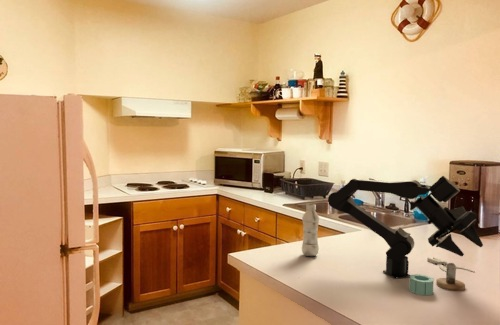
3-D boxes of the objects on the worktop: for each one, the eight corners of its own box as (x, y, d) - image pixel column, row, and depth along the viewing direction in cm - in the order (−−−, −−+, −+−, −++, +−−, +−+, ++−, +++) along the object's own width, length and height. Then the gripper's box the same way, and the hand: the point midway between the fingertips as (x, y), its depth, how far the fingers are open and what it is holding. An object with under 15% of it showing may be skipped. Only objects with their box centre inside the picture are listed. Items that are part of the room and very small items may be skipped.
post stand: (450, 291, 118) (451, 268, 117) (430, 282, 126) (431, 260, 125) (471, 289, 120) (472, 265, 120) (450, 279, 128) (451, 258, 127)
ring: (419, 296, 114) (420, 282, 114) (405, 288, 121) (405, 275, 120) (437, 293, 116) (438, 280, 116) (422, 286, 122) (422, 273, 122)
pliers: (453, 271, 132) (420, 258, 146) (453, 276, 132) (420, 262, 146) (475, 268, 136) (440, 256, 150) (475, 273, 136) (440, 260, 150)
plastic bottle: (321, 255, 153) (323, 204, 151) (312, 259, 148) (313, 206, 146) (308, 252, 157) (309, 202, 156) (298, 255, 152) (299, 204, 151)
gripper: (466, 186, 121) (507, 226, 116) (432, 210, 137) (467, 246, 132) (445, 205, 116) (487, 247, 111) (413, 227, 132) (448, 265, 127)
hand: (472, 251), depth 120 cm, fingers open, 9 cm apart
